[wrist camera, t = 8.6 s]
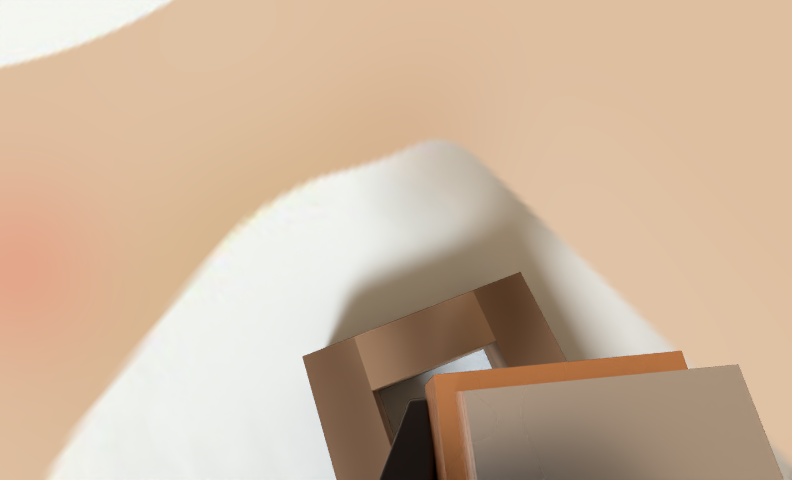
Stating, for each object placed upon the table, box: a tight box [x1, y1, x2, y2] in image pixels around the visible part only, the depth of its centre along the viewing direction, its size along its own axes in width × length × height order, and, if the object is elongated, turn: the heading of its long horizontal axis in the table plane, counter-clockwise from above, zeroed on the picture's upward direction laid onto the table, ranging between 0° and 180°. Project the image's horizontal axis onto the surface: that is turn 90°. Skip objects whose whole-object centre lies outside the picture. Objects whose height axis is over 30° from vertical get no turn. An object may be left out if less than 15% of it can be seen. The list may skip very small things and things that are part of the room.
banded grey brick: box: [425, 351, 783, 480], centre depth 9 cm, size 4×3×12 cm
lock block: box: [303, 272, 567, 480], centre depth 18 cm, size 11×11×4 cm
